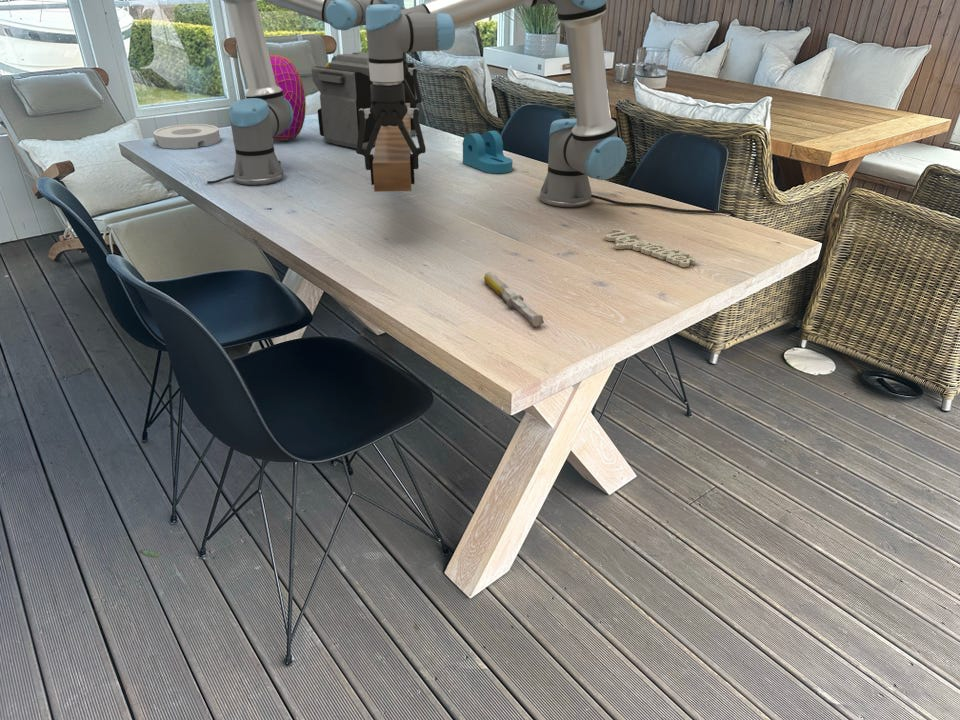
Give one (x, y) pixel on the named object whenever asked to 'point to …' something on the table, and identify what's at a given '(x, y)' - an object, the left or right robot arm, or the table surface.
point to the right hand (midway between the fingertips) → (393, 182)
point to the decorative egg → (290, 93)
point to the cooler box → (348, 98)
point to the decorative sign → (649, 248)
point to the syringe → (513, 299)
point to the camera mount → (486, 152)
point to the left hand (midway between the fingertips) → (397, 126)
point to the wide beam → (392, 159)
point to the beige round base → (186, 136)
